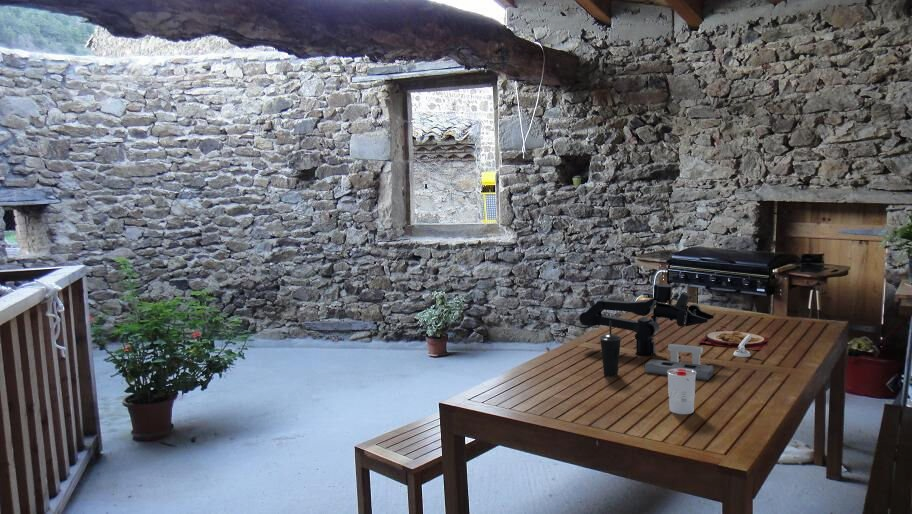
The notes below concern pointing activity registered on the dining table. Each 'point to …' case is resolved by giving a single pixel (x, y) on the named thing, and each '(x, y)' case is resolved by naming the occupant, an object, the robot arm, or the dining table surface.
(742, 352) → the hook
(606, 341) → the drinking cup
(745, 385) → the dining table surface
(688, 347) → the clip
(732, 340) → the plate with food
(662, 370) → the rail
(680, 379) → the white cylindrical container
